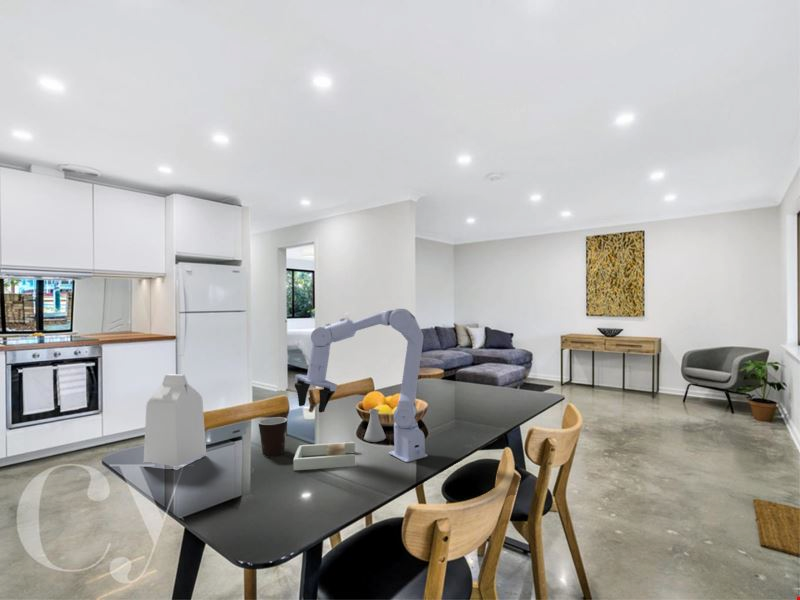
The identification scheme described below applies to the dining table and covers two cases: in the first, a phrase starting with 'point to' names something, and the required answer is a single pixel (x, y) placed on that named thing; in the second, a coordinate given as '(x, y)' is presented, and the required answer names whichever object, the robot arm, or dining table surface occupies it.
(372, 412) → the flask
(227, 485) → the dining table surface
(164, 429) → the milk
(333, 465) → the white tray
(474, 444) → the dining table surface
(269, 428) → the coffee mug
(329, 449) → the oak block
